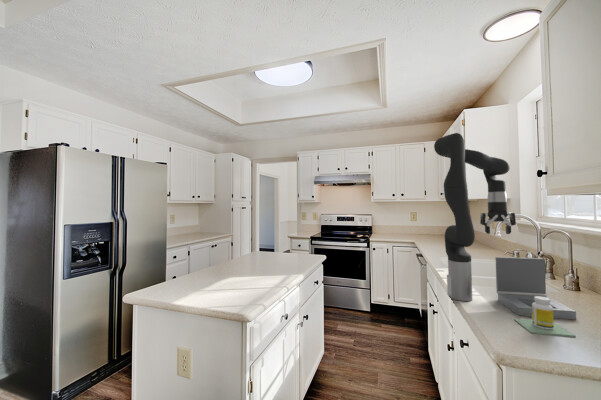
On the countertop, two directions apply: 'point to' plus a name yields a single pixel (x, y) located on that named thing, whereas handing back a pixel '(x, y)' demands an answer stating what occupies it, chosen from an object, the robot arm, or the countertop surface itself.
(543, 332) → the mat
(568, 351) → the countertop surface
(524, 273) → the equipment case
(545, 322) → the supplement bottle
